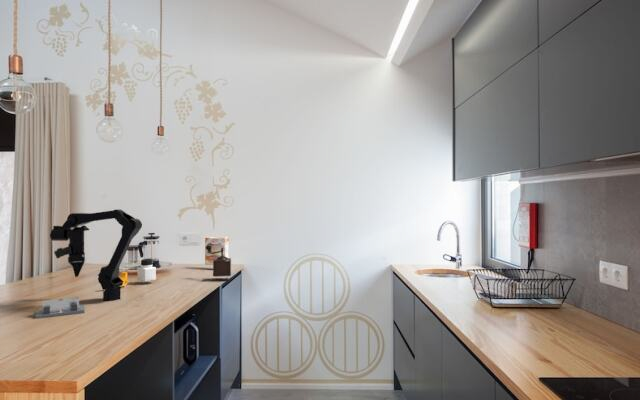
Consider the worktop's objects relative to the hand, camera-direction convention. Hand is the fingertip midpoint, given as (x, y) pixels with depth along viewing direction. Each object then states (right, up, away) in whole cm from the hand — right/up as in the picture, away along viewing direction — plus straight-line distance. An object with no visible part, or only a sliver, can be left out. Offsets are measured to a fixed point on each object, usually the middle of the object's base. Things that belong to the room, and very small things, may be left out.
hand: (76, 275), depth 179 cm
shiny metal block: (+7, -10, -21) cm, 25 cm away
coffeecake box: (+37, -12, +101) cm, 109 cm away
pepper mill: (+48, -12, +62) cm, 79 cm away
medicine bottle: (+12, -12, +45) cm, 48 cm away
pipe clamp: (+3, -12, +29) cm, 31 cm away
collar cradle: (+7, -11, -21) cm, 25 cm away
